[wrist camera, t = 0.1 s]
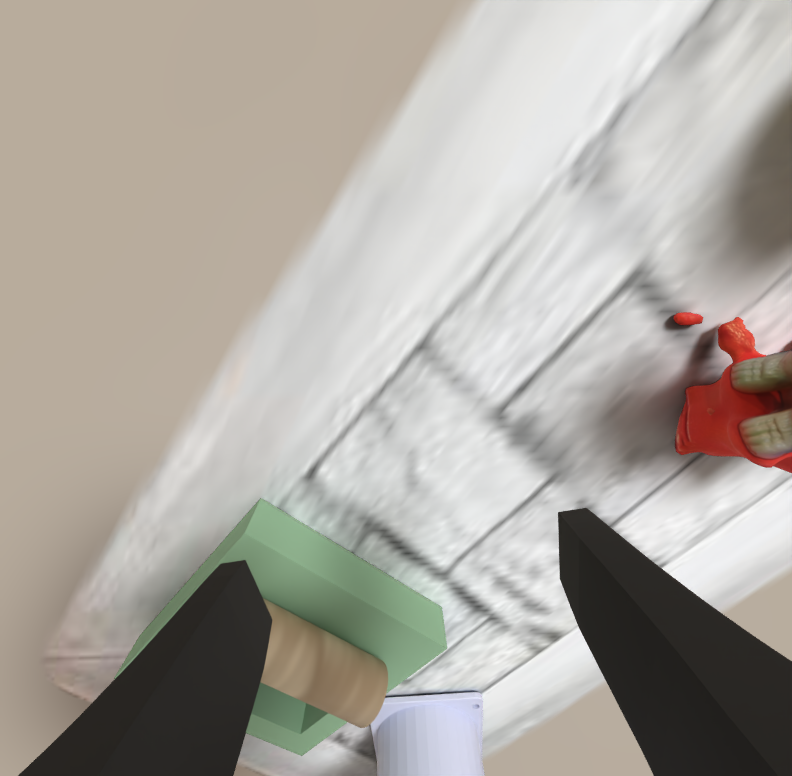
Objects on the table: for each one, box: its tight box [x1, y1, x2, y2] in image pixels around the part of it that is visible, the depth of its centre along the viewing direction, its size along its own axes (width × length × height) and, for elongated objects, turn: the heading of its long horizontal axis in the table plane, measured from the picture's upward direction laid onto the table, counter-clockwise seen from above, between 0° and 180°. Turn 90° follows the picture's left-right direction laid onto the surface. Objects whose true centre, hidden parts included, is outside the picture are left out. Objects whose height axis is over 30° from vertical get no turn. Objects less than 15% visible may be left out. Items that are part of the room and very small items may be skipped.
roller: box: [261, 598, 388, 728], centre depth 20 cm, size 8×3×3 cm, turn 50°
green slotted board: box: [114, 499, 447, 756], centre depth 23 cm, size 14×13×2 cm
